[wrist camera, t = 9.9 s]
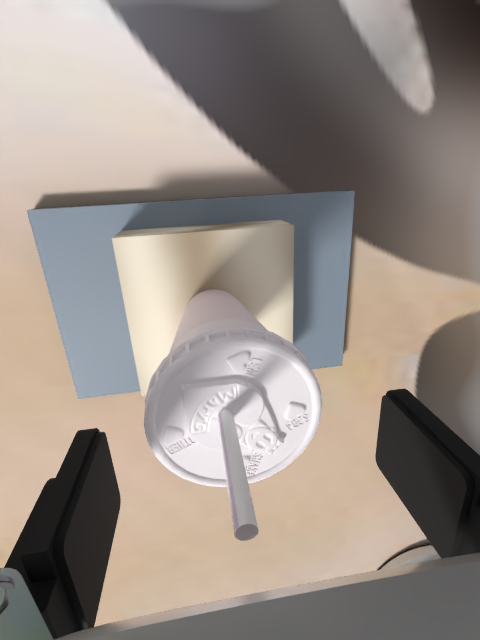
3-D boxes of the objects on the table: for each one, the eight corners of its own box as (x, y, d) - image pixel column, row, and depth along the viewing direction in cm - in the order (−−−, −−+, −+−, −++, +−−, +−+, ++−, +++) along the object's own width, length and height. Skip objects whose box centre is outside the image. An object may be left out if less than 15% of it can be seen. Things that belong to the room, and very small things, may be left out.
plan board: (348, 190, 23) (355, 190, 22) (336, 359, 28) (342, 365, 27) (33, 209, 21) (26, 210, 20) (81, 391, 26) (78, 399, 25)
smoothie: (206, 243, 19) (254, 372, 6) (286, 310, 21) (442, 505, 9) (137, 327, 20) (60, 580, 7) (220, 382, 23) (269, 648, 10)
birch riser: (280, 219, 22) (293, 225, 19) (280, 356, 26) (292, 376, 23) (120, 230, 21) (111, 238, 18) (146, 372, 25) (141, 396, 22)
